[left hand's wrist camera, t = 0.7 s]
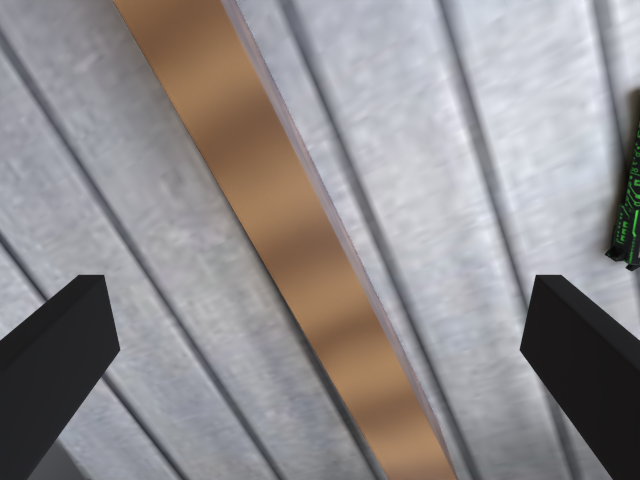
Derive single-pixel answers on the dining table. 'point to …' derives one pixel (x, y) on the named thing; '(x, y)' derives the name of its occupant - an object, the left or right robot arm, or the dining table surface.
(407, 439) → the bar
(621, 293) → the dining table surface
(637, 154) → the handgun
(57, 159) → the dining table surface
